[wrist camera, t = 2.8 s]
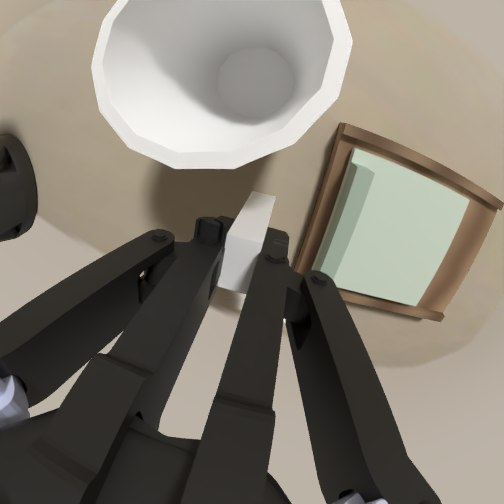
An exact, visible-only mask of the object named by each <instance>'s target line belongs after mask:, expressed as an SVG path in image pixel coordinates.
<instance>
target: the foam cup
mask: <svg viewBox="0 0 504 504" xmlns="http://www.w3.org/2000/svg"><path fill="white" fill-rule="evenodd" d="M352 44H353V41H352V37H351V34H350V31H349V27H348V24H347V21H346V18H345V15H344V12H343V9H342V6H341V4H340V1H339V0H118V1H117V2H116V3H115V5H114V6H113V7H112V9H111V10H110V11H109V13H108V14H107V16H106V17H105V19H104V20H103V23H102V26H101V29H100V33H99V36H98V40H97V44H96V47H95V52H94V56H93V60H92V65H91V69H92V75H93V81H94V86H95V91H96V96H97V101H98V106H99V110H100V112H101V114H102V115H103V116H104V117H105V119H106V120H107V121H108V122H109V124H110V125H111V126H112V128H113V129H114V130H115V131H116V133H117V134H118V135H119V136H120V138H121V139H122V140H123V141H124V143H125V144H126V145H127V146H128V148H130V149H133V150H135V151H137V152H139V153H141V154H144V155H146V156H148V157H150V158H152V159H155V160H157V161H159V162H161V163H163V164H165V165H168V166H170V167H172V168H174V169H236V168H238V167H240V166H242V165H245V164H247V163H249V162H252V161H254V160H256V159H259V158H261V157H263V156H266V155H268V154H271V153H273V152H275V151H278V150H280V149H283V148H285V147H288V146H291V145H293V144H295V142H296V141H297V140H298V139H299V138H300V137H301V136H302V135H303V134H304V133H305V132H306V131H307V130H308V129H309V128H310V126H311V125H312V124H313V123H314V122H315V121H316V120H317V119H318V118H319V117H320V116H321V115H322V114H323V113H324V112H325V111H326V110H327V109H328V108H329V107H330V106H331V105H332V104H333V103H334V102H335V101H336V99H337V98H338V96H339V93H340V89H341V85H342V82H343V78H344V74H345V71H346V67H347V63H348V59H349V56H350V52H351V48H352Z"/></svg>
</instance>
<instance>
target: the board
mask: <svg viewBox="0 0 504 504" xmlns="http://www.w3.org/2000/svg"><path fill="white" fill-rule="evenodd" d="M353 147H354V148H357V149H360V150H363V151H365V152H368V153H371V154H373V155H376V156H379V157H381V158H384V159H386V160H389V161H391V162H393V163H396V164H398V165H401V166H403V167H405V168H407V169H410V170H412V171H414V172H416V173H419V174H421V175H423V176H425V177H427V178H429V179H431V180H433V181H435V182H437V183H439V184H441V185H443V186H445V187H447V188H449V189H451V190H453V191H455V192H457V193H458V194H460V195H462V196H464V197H466V198H467V199H469V200H470V201H469V204H468V206H467V209H466V211H465V213H464V216H463V218H462V221H461V223H460V225H459V227H458V230H457V232H456V234H455V236H454V238H453V240H452V242H451V245H450V247H449V249H448V251H447V253H446V255H445V257H444V258H443V260H442V262H441V264H440V266H439V268H438V270H437V272H436V273H435V275H434V277H433V279H432V280H431V282H430V284H429V286H428V287H427V289H426V291H425V292H424V294H423V296H422V297H421V299H420V301H419V302H418V304H417V305H416V306H412V305H408V304H404V303H400V302H396V301H391V300H387V299H383V298H379V297H375V296H371V295H367V294H363V293H359V292H355V291H351V290H347V289H343V288H339V287H337V289H338V291H339V293H340V295H341V297H342V299H343V300H345V301H349V302H353V303H357V304H361V305H366V306H370V307H374V308H379V309H383V310H388V311H392V312H397V313H401V314H406V315H410V316H415V317H420V318H424V319H429V320H434V321H438V322H441V321H442V319H443V318H444V317H445V316H444V314H443V312H444V310H445V309H446V307H447V306H448V304H449V302H450V301H451V299H452V298H453V296H454V295H455V293H456V291H457V290H458V288H459V286H460V285H461V283H462V281H463V280H464V278H465V276H466V274H467V273H468V271H469V269H470V267H471V265H472V263H473V262H474V260H475V258H476V256H477V254H478V252H479V250H480V248H481V246H482V244H483V242H484V240H485V237H486V235H487V233H488V231H489V229H490V226H491V224H492V222H493V219H494V217H495V214H496V212H497V209H499V210H502V208H503V205H504V203H503V202H502V201H500V200H499V199H497V198H496V197H495V196H493V195H492V194H490V193H489V192H487V191H486V190H484V189H483V188H481V187H479V186H478V185H476V184H475V183H473V182H471V181H470V180H468V179H466V178H465V177H463V176H461V175H460V174H458V173H456V172H454V171H453V170H451V169H449V168H447V167H445V166H443V165H442V164H440V163H438V162H436V161H434V160H432V159H430V158H428V157H426V156H424V155H422V154H420V153H418V152H416V151H414V150H412V149H409V148H407V147H405V146H403V145H401V144H398V143H396V142H394V141H391V140H389V139H387V138H384V137H382V136H379V135H377V134H374V133H372V132H369V131H366V130H364V129H361V128H358V127H355V126H353V125H350V124H347V123H341V122H340V125H339V128H338V132H337V135H336V139H335V143H334V146H333V150H332V153H331V156H330V160H329V163H328V167H327V170H326V173H325V177H324V180H323V183H322V186H321V190H320V193H319V196H318V199H317V202H316V205H315V209H314V212H313V215H312V218H311V221H310V224H309V227H308V230H307V233H306V236H305V239H304V242H303V245H302V248H301V251H300V254H299V256H298V259H297V262H296V265H295V268H294V271H296V272H298V273H299V274H302V275H304V274H305V273H306V271H309V270H311V269H312V266H313V263H314V261H315V258H316V255H317V253H318V250H319V247H320V245H321V242H322V239H323V237H324V234H325V231H326V228H327V226H328V223H329V220H330V217H331V214H332V211H333V208H334V205H335V202H336V200H337V197H338V194H339V191H340V187H341V184H342V181H343V178H344V175H345V172H346V169H347V166H348V162H349V159H350V156H351V152H352V149H353Z"/></svg>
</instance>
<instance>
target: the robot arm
mask: <svg viewBox="0 0 504 504" xmlns="http://www.w3.org/2000/svg"><path fill="white" fill-rule="evenodd" d="M275 199H276V197H274V196H271V195H267V194H263V193H259V192H255V191H252V193H251V195H250V196H249V198H248V199H247V201H246V203H245V204H244V206H243V208H242V209H241V211H240V213H239V214H238V216H237V218H236V219H233V218H229V217H225V216H220V217H217V218H214V217H200V218H198V219H196V225H195V233H194V238H193V239H192V240H191V241H190V242H174V240H175V236H174V235H173V234H172V233H171V232H169V231H166V230H163V229H162V230H161V229H157V230H151V231H149V232H146V233H145V234H143V235H141V236H139V237H137V238H135V239H133V240H131V241H130V242H128V243H126V244H124V245H122V246H121V247H119V248H117V249H115V250H113V251H112V252H110V253H108V254H106V255H104V256H103V257H101V258H99V259H98V260H96V261H94V262H93V263H91V264H89V265H87V266H86V267H84V268H82V269H81V270H79V271H77V272H76V273H74V274H72V275H71V276H69V277H67V278H66V279H64V280H62V281H61V282H59V283H58V284H56V285H55V286H53V287H51V288H50V289H48V290H47V291H45V292H44V293H42V294H40V295H39V296H37V297H36V298H34V299H33V300H31V301H30V302H28V303H27V304H25V305H24V306H23V307H21V308H20V309H18V310H17V311H15V312H14V313H12V314H11V315H10V316H8V317H7V318H6V319H4V320H3V321H1V322H0V504H292V503H291V502H290V501H289V499H288V498H287V496H286V495H285V493H284V492H283V490H282V488H281V487H280V486H279V484H278V483H277V481H276V480H275V479H274V478H273V477H272V476H271V475H270V474H269V473H268V472H267V470H268V465H269V459H270V452H271V446H272V440H273V433H274V426H275V411H273V410H272V403H273V396H274V389H275V382H276V374H277V367H278V359H279V352H280V343H281V336H282V327H283V319H284V318H285V319H286V328H287V333H288V337H289V341H290V346H291V350H292V355H293V360H294V364H295V368H296V373H297V378H298V382H299V387H300V392H301V397H302V402H303V406H304V411H305V416H306V421H307V426H308V430H309V436H310V441H311V445H312V451H313V455H314V461H315V466H316V470H317V476H318V480H319V484H320V488H321V491H322V493H323V496H324V498H325V501H326V503H327V504H442V503H441V501H440V499H439V498H438V496H437V495H436V493H435V492H434V491H433V489H432V488H431V487H430V486H429V484H428V483H427V482H426V480H425V479H424V477H423V476H422V475H421V473H420V472H419V471H418V469H417V468H416V467H415V465H414V464H413V463H412V461H411V460H410V459H409V457H408V456H407V453H406V450H405V447H404V444H403V441H402V438H401V435H400V432H399V430H398V427H397V424H396V422H395V419H394V416H393V414H392V411H391V408H390V406H389V403H388V401H387V398H386V396H385V393H384V391H383V388H382V386H381V383H380V381H379V378H378V376H377V374H376V371H375V369H374V367H373V364H372V362H371V360H370V357H369V355H368V353H367V350H366V348H365V346H364V344H363V341H362V339H361V337H360V335H359V333H358V330H357V328H356V326H355V324H354V322H353V320H352V318H351V315H350V313H349V311H348V309H347V307H346V305H345V303H344V301H343V299H342V297H341V295H340V293H339V291H338V289H337V287H336V285H335V283H334V281H333V279H332V278H331V277H330V276H328V275H327V274H326V273H323V272H321V271H317V270H309V271H306V273H305V274H304V275H302V274H299V273H298V272H296V271H294V270H293V269H292V268H291V267H290V266H289V260H288V258H287V255H288V245H289V236H288V235H287V233H286V232H284V231H280V230H277V229H273V228H269V227H268V225H269V222H270V218H271V214H272V210H273V206H274V203H275ZM36 209H37V193H36V184H35V178H34V173H33V169H32V166H31V162H30V159H29V157H28V154H27V152H26V150H25V148H24V146H23V145H22V143H21V142H20V141H19V140H18V139H17V138H16V137H15V136H13V135H10V134H7V135H3V136H0V242H2V241H6V240H10V239H15V238H17V237H19V236H20V235H22V234H24V233H25V232H27V231H28V230H29V229H30V228H31V227H32V225H33V223H34V220H35V216H36ZM143 271H144V275H143V276H141V277H140V274H141V273H142V272H143ZM218 279H219V280H218ZM217 281H218V287H222V288H225V289H229V290H232V291H236V292H239V293H243V294H247V295H246V298H245V301H244V305H243V308H242V311H241V314H240V318H239V321H238V324H237V328H236V331H235V334H234V337H233V341H232V344H231V347H230V351H229V354H228V357H227V360H226V363H225V367H224V370H223V373H222V376H221V380H220V383H219V386H218V389H217V392H216V395H215V397H214V400H213V403H212V406H211V409H210V412H209V415H208V419H207V422H206V425H205V428H204V431H203V434H202V437H201V440H196V439H185V438H176V437H168V436H165V435H163V434H161V433H160V432H159V431H158V428H159V423H160V418H161V415H162V412H163V410H164V408H165V405H166V403H167V401H168V398H169V396H170V393H171V391H172V389H173V386H174V384H175V382H176V380H177V377H178V375H179V373H180V370H181V368H182V366H183V363H184V361H185V359H186V356H187V354H188V352H189V350H190V347H191V345H192V343H193V341H194V338H195V336H196V334H197V331H198V329H199V327H200V324H201V322H202V320H203V318H204V316H205V313H206V311H207V309H208V307H209V305H210V302H211V300H212V298H213V296H214V293H215V289H216V284H217ZM122 331H123V333H122V334H121V336H120V337H119V339H118V340H117V342H116V343H115V345H114V346H113V347H112V349H111V350H110V352H109V353H107V354H102V353H98V352H99V351H101V350H102V349H103V348H104V347H105V346H106V345H107V344H108V343H110V342H111V341H112V340H113V339H114V338H115V337H117V336H118V335H119V334H120V333H121V332H122ZM97 353H98V354H97ZM91 358H92V359H91ZM90 359H91V360H90ZM89 360H90V361H89ZM88 361H89V363H88V364H87V366H86V367H85V369H84V370H83V371H82V373H81V375H80V376H79V377H78V379H77V381H76V382H75V384H74V385H73V387H72V388H71V390H70V392H69V393H68V394H67V396H66V398H65V399H64V401H63V402H62V404H61V405H60V407H59V408H57V409H54V410H52V411H49V412H46V413H43V414H40V415H37V416H34V417H31V418H30V414H29V412H28V408H30V407H32V406H34V405H36V404H38V403H40V402H41V401H43V400H44V399H46V398H47V397H48V396H50V395H51V394H52V393H53V392H55V391H56V390H57V389H58V388H59V387H60V386H61V385H62V384H64V383H65V382H66V381H67V380H68V379H69V378H70V377H71V376H72V375H73V374H74V373H76V372H77V371H78V370H79V369H80V368H81V367H82V366H84V365H85V364H86V363H87V362H88Z"/></svg>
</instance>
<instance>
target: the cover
mask: <svg viewBox="0 0 504 504" xmlns="http://www.w3.org/2000/svg"><path fill="white" fill-rule="evenodd" d="M469 201H470V200H469V199H467V198H466V197H464V196H462V195H460V194H458V193H457V192H455V191H453V190H451V189H449V188H447V187H445V186H443V185H441V184H439V183H437V182H435V181H433V180H431V179H429V178H427V177H425V176H423V175H421V174H419V173H416V172H414V171H412V170H410V169H407V168H405V167H403V166H401V165H398V164H396V163H393V162H391V161H389V160H386V159H384V158H381V157H379V156H376V155H373V154H371V153H368V152H365V151H363V150H360V149H357V148H354V147H353V149H352V152H351V156H350V159H349V162H348V166H347V169H346V172H345V175H344V178H343V181H342V184H341V187H340V191H339V194H338V197H337V200H336V202H335V205H334V208H333V211H332V214H331V217H330V220H329V223H328V226H327V228H326V231H325V234H324V237H323V239H322V242H321V245H320V247H319V250H318V253H317V255H316V258H315V261H314V263H313V266H312V269H311V270H317V271H321V272H323V273H326V274H327V275H328V276H330V277H331V278H332V279H333V281H334V283H335V285H336V287H339V288H343V289H347V290H351V291H355V292H359V293H363V294H367V295H371V296H375V297H379V298H383V299H387V300H391V301H396V302H400V303H404V304H408V305H412V306H416V305H417V304H418V302H419V301H420V299H421V297H422V296H423V294H424V292H425V291H426V289H427V287H428V286H429V284H430V282H431V280H432V279H433V277H434V275H435V273H436V272H437V270H438V268H439V266H440V264H441V262H442V260H443V258H444V257H445V255H446V253H447V251H448V249H449V247H450V245H451V242H452V240H453V238H454V236H455V234H456V232H457V230H458V227H459V225H460V223H461V221H462V218H463V216H464V213H465V211H466V209H467V206H468V204H469Z"/></svg>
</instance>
